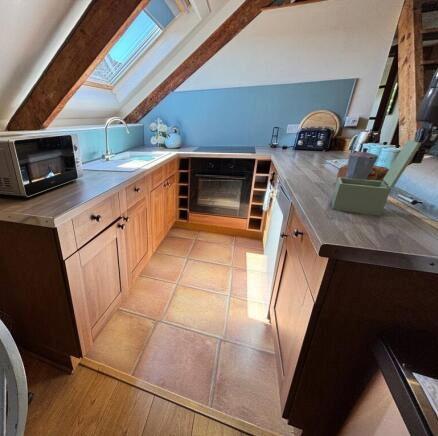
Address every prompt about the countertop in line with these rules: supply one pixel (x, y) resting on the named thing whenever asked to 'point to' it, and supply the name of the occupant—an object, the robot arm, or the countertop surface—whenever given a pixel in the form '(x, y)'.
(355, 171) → the moka pot
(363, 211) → the bin
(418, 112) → the robot arm
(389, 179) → the bin lid
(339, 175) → the bread
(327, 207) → the countertop surface
